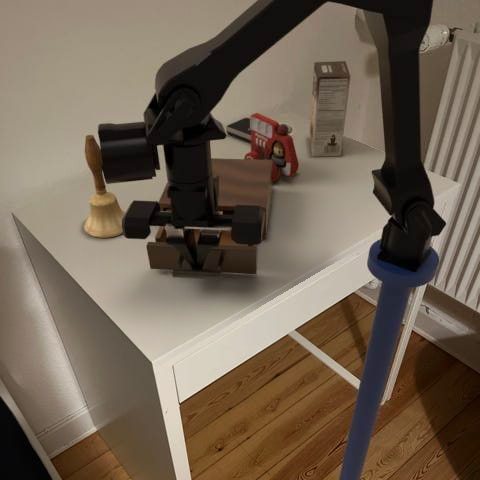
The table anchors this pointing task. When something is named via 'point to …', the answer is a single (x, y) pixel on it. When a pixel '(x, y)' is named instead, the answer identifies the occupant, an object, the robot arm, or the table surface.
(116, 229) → the hand bell
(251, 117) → the toy fire truck
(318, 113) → the coffee box
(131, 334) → the table surface
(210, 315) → the table surface
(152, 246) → the drawer
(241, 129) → the external hard drive
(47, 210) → the table surface
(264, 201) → the cabinet
